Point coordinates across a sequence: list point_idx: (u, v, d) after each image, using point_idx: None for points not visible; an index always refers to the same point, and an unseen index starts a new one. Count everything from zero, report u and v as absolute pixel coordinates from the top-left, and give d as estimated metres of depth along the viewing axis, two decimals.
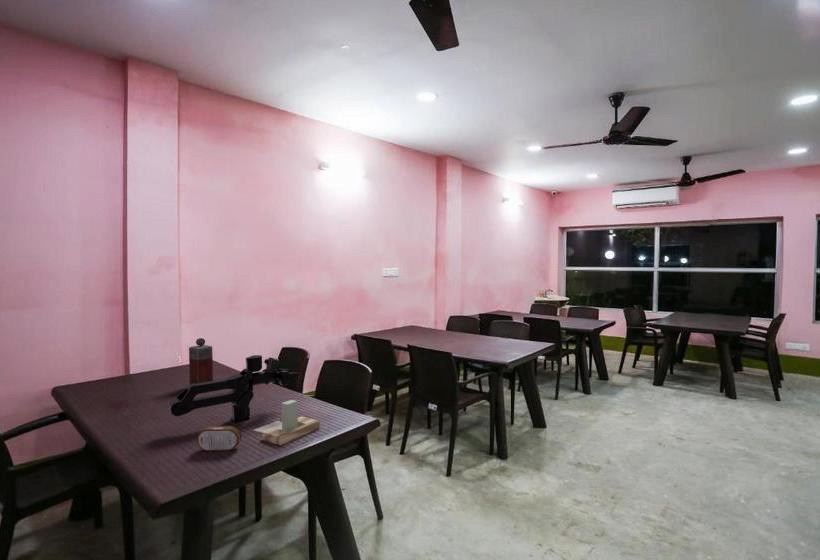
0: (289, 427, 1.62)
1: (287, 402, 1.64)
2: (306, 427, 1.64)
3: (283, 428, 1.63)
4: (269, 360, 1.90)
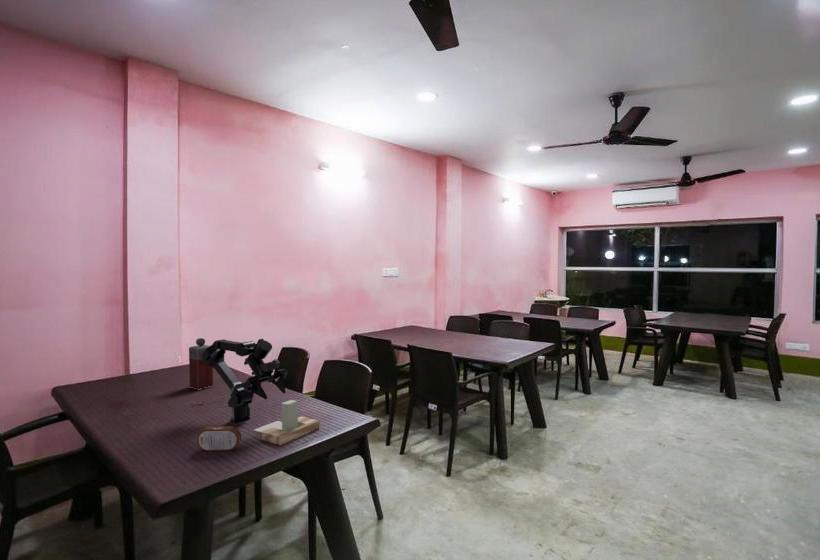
0: (289, 427, 1.62)
1: (287, 402, 1.64)
2: (306, 427, 1.64)
3: (283, 428, 1.63)
4: (272, 362, 1.71)
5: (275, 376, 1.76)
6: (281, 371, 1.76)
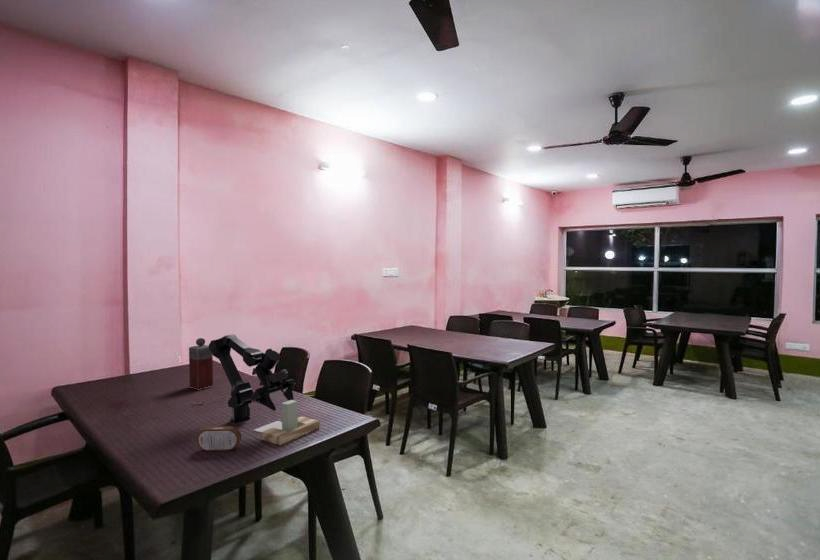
0: (289, 427, 1.62)
1: (287, 402, 1.64)
2: (306, 427, 1.64)
3: (283, 428, 1.63)
4: None
5: (283, 386, 1.73)
6: (289, 381, 1.73)
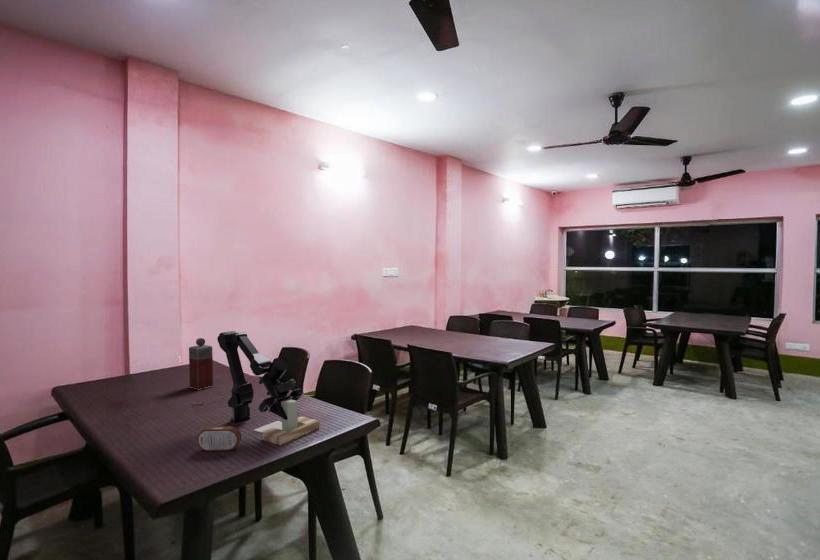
0: (289, 427, 1.62)
1: (287, 402, 1.64)
2: (306, 427, 1.64)
3: (283, 428, 1.63)
4: (288, 382, 1.66)
5: None
6: (297, 391, 1.71)
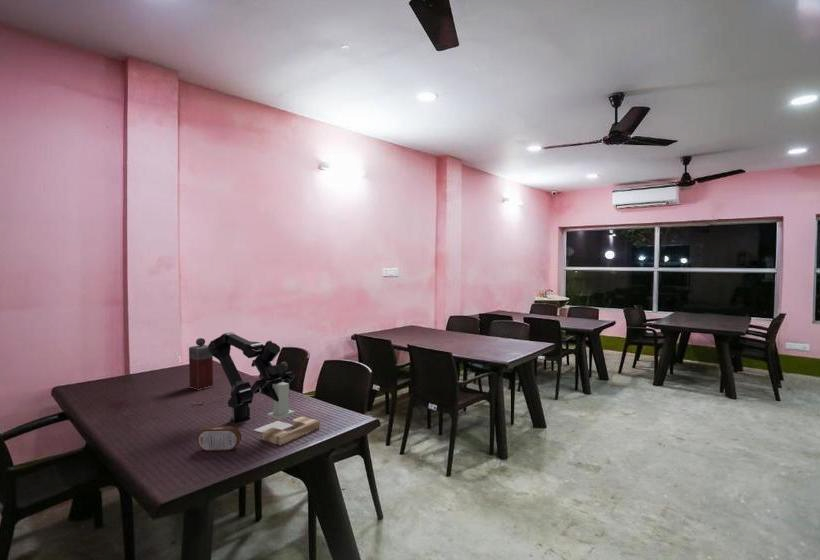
0: (280, 408, 1.65)
1: (279, 384, 1.66)
2: (306, 427, 1.64)
3: (274, 409, 1.65)
4: (280, 364, 1.68)
5: (283, 379, 1.73)
6: (289, 374, 1.73)
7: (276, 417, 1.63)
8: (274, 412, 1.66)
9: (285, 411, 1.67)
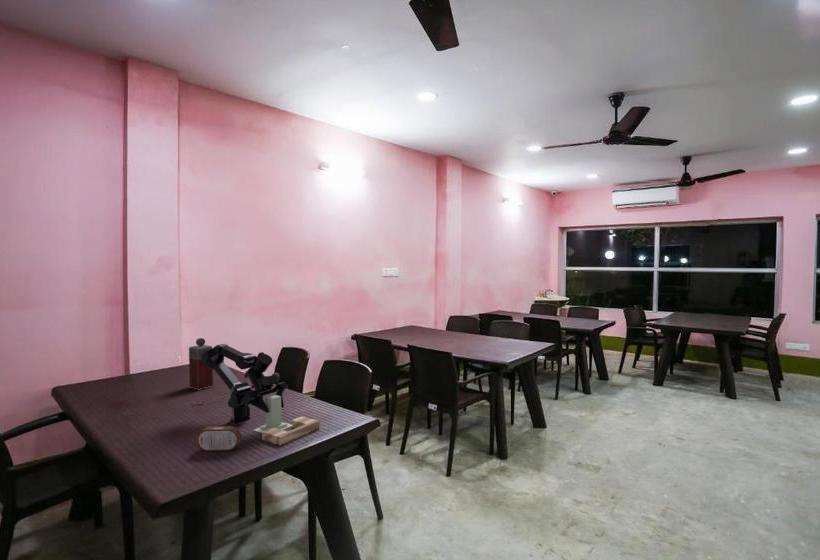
0: (273, 421, 1.67)
1: (271, 397, 1.69)
2: (306, 427, 1.64)
3: (267, 422, 1.68)
4: (272, 375, 1.71)
5: (275, 389, 1.76)
6: (281, 384, 1.76)
7: None
8: (267, 425, 1.68)
9: (277, 424, 1.69)
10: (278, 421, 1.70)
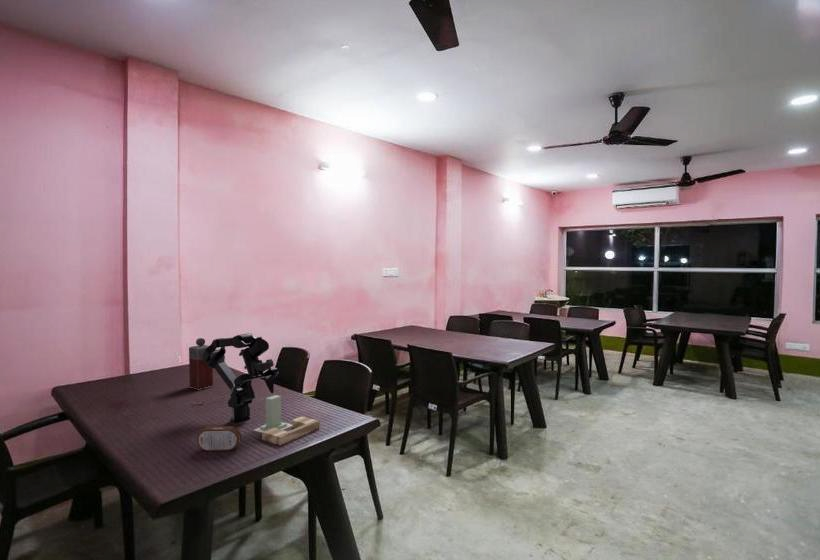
0: (273, 421, 1.67)
1: (271, 397, 1.69)
2: (306, 427, 1.64)
3: (267, 422, 1.68)
4: (266, 362, 1.73)
5: (266, 374, 1.78)
6: (273, 370, 1.78)
7: None
8: (267, 425, 1.68)
9: (277, 424, 1.69)
10: (278, 421, 1.70)
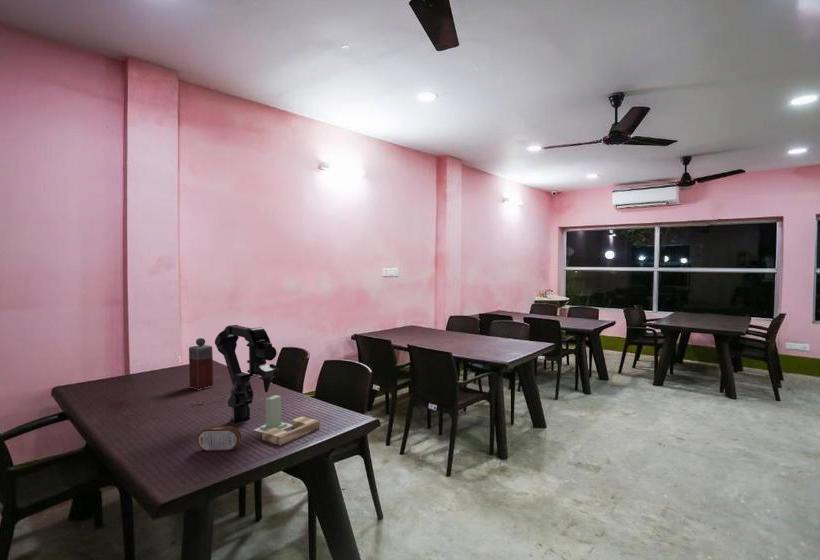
0: (273, 421, 1.67)
1: (271, 397, 1.69)
2: (306, 427, 1.64)
3: (267, 422, 1.68)
4: (269, 368, 1.70)
5: None
6: (274, 372, 1.77)
7: None
8: (267, 425, 1.68)
9: (277, 424, 1.69)
10: (278, 421, 1.70)
